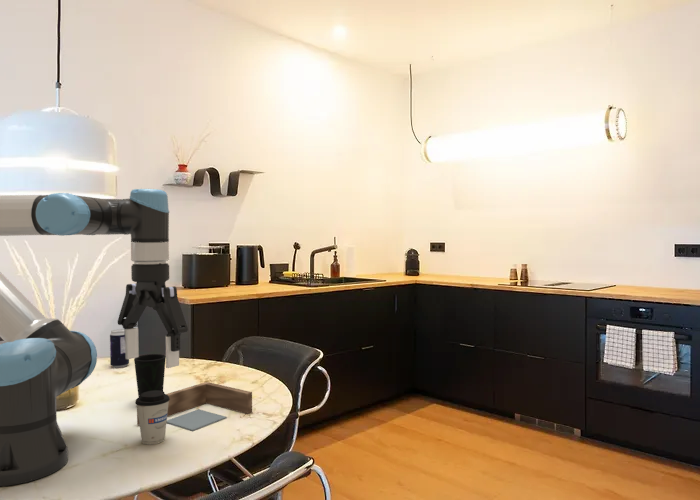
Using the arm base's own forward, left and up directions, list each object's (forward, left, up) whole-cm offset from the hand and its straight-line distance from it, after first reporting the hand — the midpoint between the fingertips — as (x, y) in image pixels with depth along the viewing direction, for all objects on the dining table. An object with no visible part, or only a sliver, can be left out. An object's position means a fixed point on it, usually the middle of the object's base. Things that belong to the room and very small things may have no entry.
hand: (151, 362), depth 113 cm
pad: (+13, +2, -17) cm, 21 cm away
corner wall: (+14, +3, -17) cm, 22 cm away
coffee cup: (0, 0, -17) cm, 17 cm away
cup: (+15, +22, -17) cm, 31 cm away
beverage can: (+33, +64, -17) cm, 74 cm away
